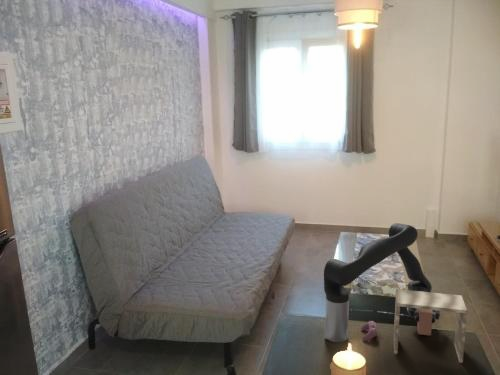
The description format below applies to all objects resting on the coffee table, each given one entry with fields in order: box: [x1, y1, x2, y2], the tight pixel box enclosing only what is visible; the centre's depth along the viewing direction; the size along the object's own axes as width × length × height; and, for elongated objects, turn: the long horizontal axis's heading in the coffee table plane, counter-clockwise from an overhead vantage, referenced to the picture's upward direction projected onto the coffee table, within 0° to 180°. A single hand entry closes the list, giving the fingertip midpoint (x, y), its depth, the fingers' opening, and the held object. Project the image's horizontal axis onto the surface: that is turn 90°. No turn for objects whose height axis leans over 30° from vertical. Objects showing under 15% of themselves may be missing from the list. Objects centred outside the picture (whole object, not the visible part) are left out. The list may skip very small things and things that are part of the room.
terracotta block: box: [416, 308, 434, 337], centre depth 188 cm, size 5×5×10 cm
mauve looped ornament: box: [360, 320, 378, 342], centre depth 188 cm, size 10×5×7 cm, turn 170°
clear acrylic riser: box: [393, 288, 468, 364], centre depth 176 cm, size 24×13×21 cm, turn 74°
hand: (425, 320), depth 185 cm, fingers closed on terracotta block, 5 cm apart
